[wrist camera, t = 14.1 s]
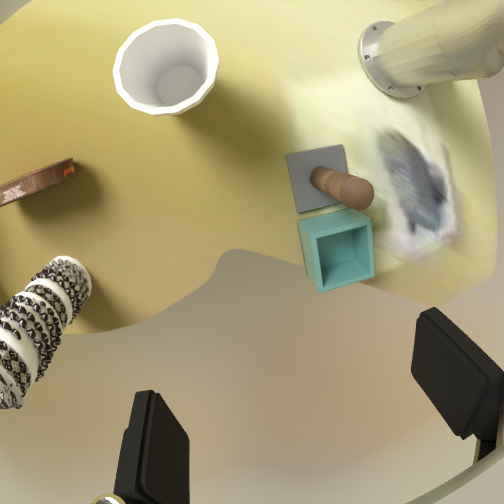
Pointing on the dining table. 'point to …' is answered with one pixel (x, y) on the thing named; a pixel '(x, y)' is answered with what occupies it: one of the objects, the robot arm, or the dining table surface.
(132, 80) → the foam cup
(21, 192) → the tin
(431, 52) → the robot arm
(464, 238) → the dining table surface
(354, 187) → the dowel
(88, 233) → the dining table surface
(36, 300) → the decorative candle
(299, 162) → the coaster
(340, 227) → the teal open box
